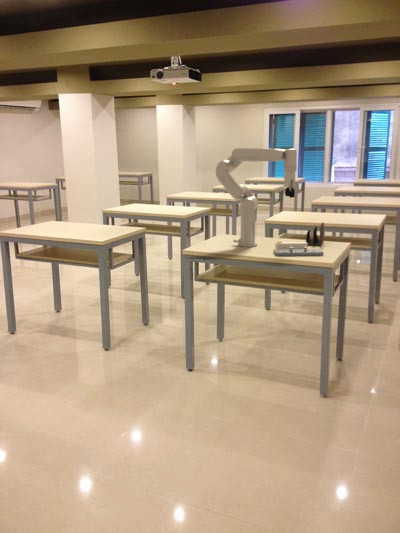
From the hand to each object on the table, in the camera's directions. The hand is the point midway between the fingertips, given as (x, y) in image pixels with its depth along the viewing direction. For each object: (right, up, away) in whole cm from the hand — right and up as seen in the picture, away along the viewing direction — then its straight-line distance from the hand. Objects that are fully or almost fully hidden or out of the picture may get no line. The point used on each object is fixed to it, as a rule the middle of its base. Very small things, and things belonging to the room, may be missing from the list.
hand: (289, 196), depth 309 cm
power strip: (0, -34, -2) cm, 34 cm away
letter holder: (+21, -29, +21) cm, 42 cm away
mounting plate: (+3, -37, -12) cm, 39 cm away
